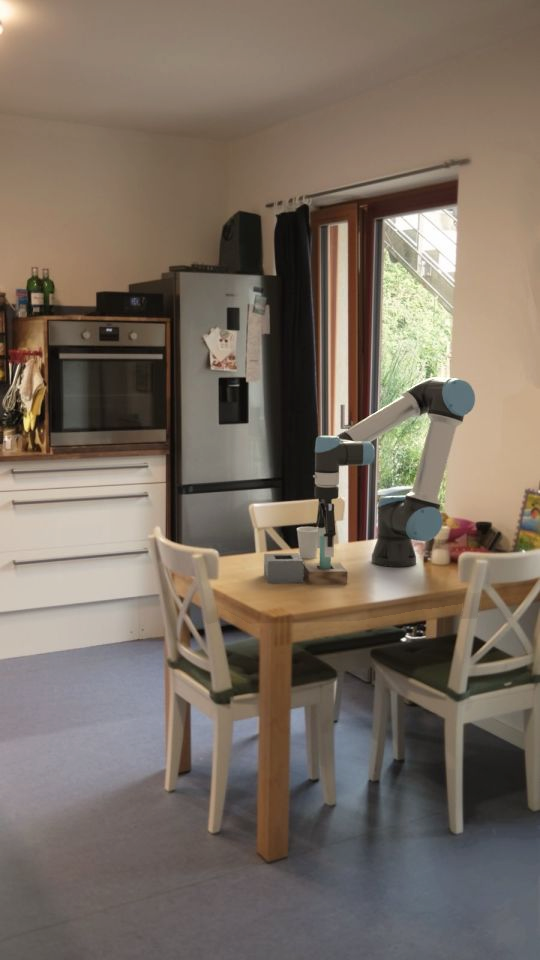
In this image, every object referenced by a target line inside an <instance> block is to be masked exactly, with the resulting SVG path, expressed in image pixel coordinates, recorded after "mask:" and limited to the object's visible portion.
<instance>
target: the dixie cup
mask: <svg viewBox="0 0 540 960" xmlns="http://www.w3.org/2000/svg"><path fill="white" fill-rule="evenodd" d="M318 528H319V527H317V526H316V527H315V526H300V527H297V528H296V533H297V542H298V554H299V555H300V557H301V558H302V559H305V558H307V559H308V560H309V559H311V558H312V559H315V558H317V553H318V548H317V535H318Z"/></svg>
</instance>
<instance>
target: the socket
mask: <svg viewBox="0 0 540 960" xmlns="http://www.w3.org/2000/svg"><path fill="white" fill-rule="evenodd" d="M303 563H304V559H303V558H301V557H300V553H299V552H297V553H296V552H294V553H292V552H291V553H264V554H263V576H264V578H265V580H266V582H267V584H299V583H300V584H302V583H304V576H303Z"/></svg>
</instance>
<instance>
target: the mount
mask: <svg viewBox="0 0 540 960" xmlns="http://www.w3.org/2000/svg"><path fill="white" fill-rule="evenodd" d="M319 567H320V562H311V563H310V562H309V563H305V562H303V579H305V581H306V582H307V584H308V585H312V586H313V585H348V570H347V569H346V568H345V567H344V565H342V563H341V562H331V569H319Z"/></svg>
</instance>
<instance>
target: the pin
mask: <svg viewBox="0 0 540 960" xmlns="http://www.w3.org/2000/svg"><path fill="white" fill-rule="evenodd" d="M331 561H332V557H325V537H324V535H321V536H320V548H319V563H320V567H319V569H331V563H332V562H331Z"/></svg>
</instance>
